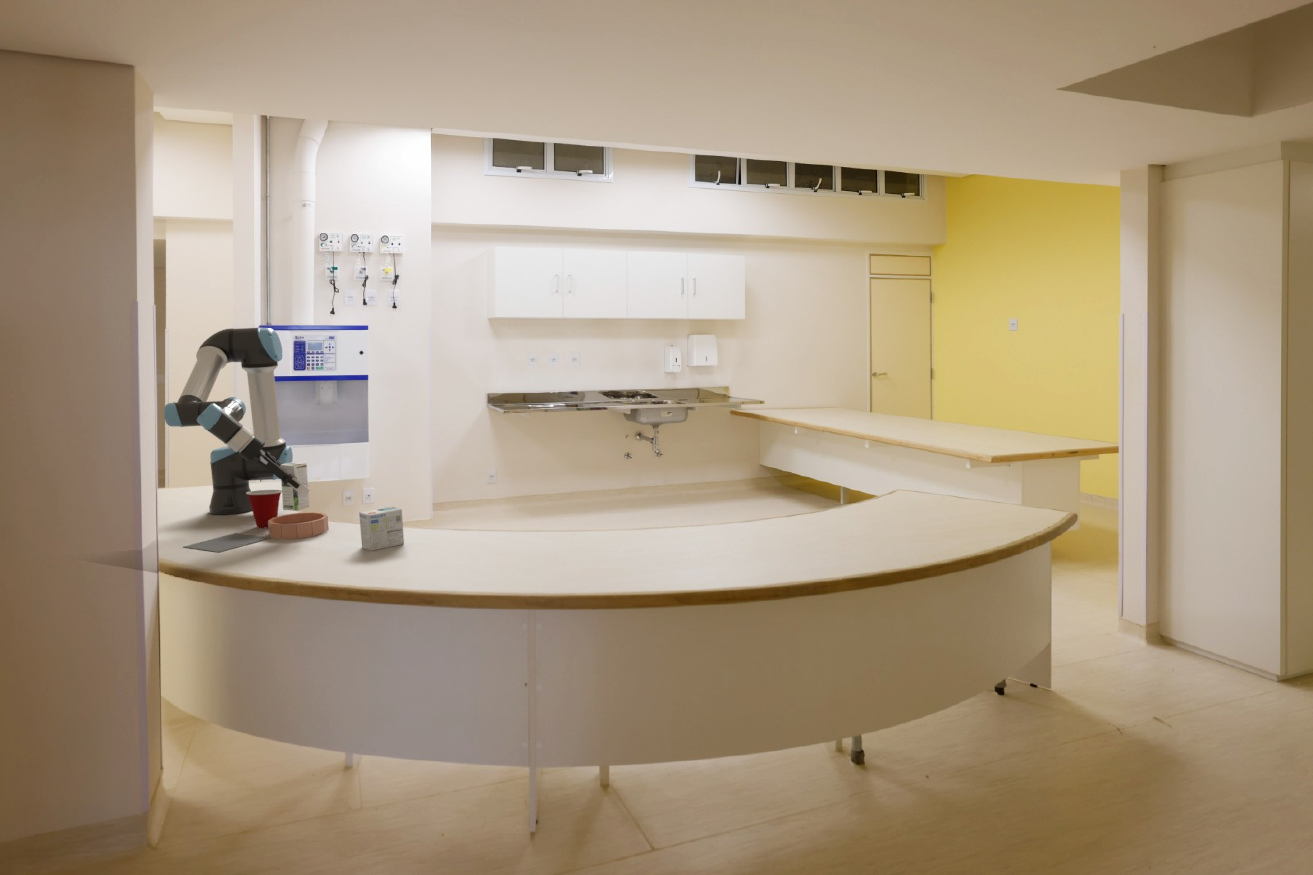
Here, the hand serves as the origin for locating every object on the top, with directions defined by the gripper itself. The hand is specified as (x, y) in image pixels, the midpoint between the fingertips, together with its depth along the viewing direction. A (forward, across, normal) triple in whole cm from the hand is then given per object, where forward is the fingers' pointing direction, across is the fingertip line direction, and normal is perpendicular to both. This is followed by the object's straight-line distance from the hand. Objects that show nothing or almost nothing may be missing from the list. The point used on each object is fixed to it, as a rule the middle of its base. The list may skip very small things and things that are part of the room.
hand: (306, 491), depth 273 cm
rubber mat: (-7, +4, -26) cm, 27 cm away
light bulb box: (+23, +30, +4) cm, 38 cm away
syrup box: (+2, 0, -6) cm, 7 cm away
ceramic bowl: (+7, -1, -12) cm, 13 cm away
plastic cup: (0, -15, -18) cm, 24 cm away
